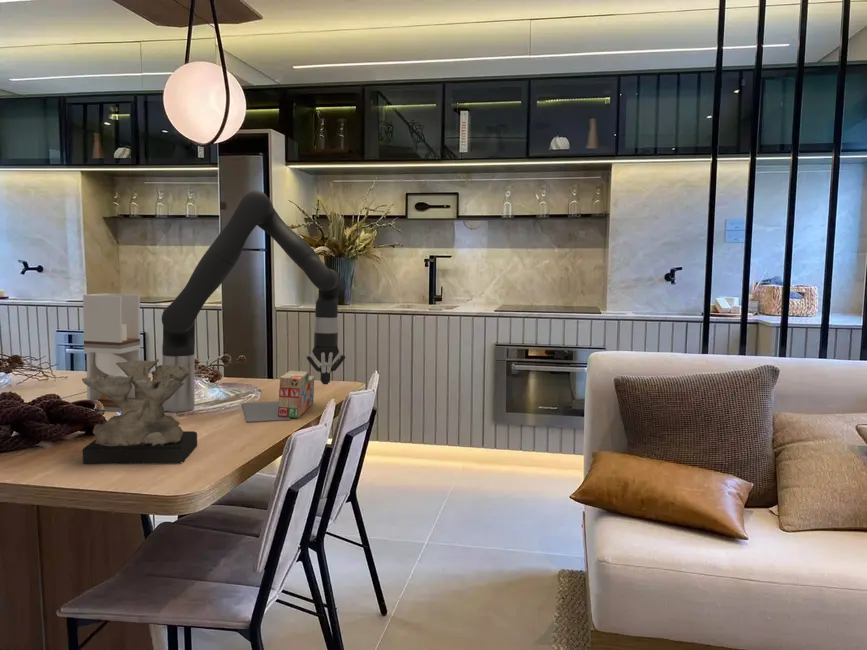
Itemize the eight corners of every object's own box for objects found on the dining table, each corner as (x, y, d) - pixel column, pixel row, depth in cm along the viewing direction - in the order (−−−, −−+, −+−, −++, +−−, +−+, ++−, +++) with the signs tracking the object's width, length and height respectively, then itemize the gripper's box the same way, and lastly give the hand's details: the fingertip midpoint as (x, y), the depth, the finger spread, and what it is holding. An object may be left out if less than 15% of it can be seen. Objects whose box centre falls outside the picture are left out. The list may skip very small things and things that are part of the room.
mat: (246, 422, 173) (246, 421, 173) (241, 404, 195) (241, 403, 195) (290, 420, 177) (290, 419, 177) (280, 402, 200) (280, 401, 199)
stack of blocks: (295, 401, 200) (297, 365, 199) (313, 403, 200) (315, 367, 199) (277, 416, 179) (279, 376, 178) (298, 418, 179) (300, 378, 178)
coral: (65, 464, 133) (63, 370, 131) (104, 438, 153) (103, 356, 151) (181, 464, 136) (181, 372, 134) (205, 439, 156) (205, 358, 154)
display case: (85, 409, 180) (83, 294, 177) (106, 402, 191) (104, 293, 188) (121, 411, 180) (119, 296, 176) (140, 403, 190) (139, 295, 187)
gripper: (343, 329, 196) (342, 381, 198) (303, 329, 192) (302, 382, 193) (349, 332, 190) (347, 385, 191) (307, 332, 185) (306, 387, 186)
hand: (325, 383), depth 192 cm, fingers closed
